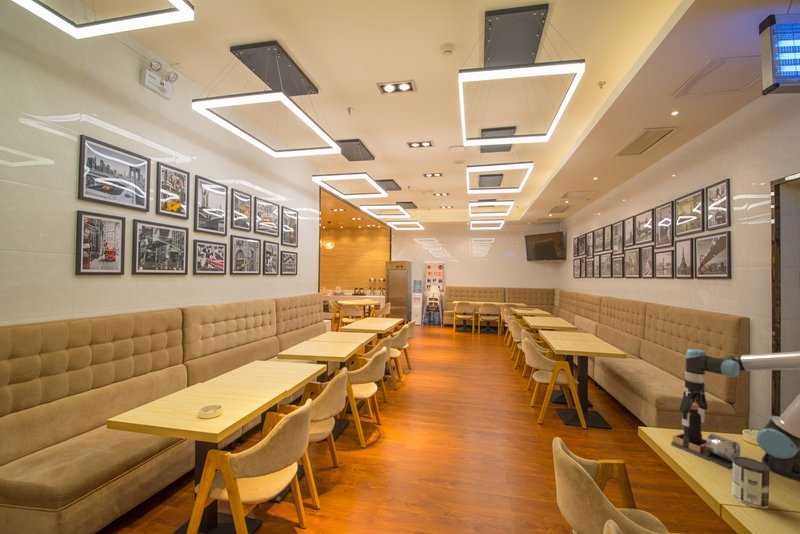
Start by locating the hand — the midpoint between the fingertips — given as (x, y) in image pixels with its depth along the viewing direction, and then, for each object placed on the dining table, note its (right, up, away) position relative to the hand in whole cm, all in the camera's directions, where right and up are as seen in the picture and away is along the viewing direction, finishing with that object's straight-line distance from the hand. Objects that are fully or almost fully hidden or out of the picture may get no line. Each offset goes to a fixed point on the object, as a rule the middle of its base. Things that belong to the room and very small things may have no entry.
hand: (693, 423), depth 175 cm
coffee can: (-12, -12, -40) cm, 43 cm away
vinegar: (0, -11, 0) cm, 11 cm away
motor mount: (+2, -12, -5) cm, 13 cm away
